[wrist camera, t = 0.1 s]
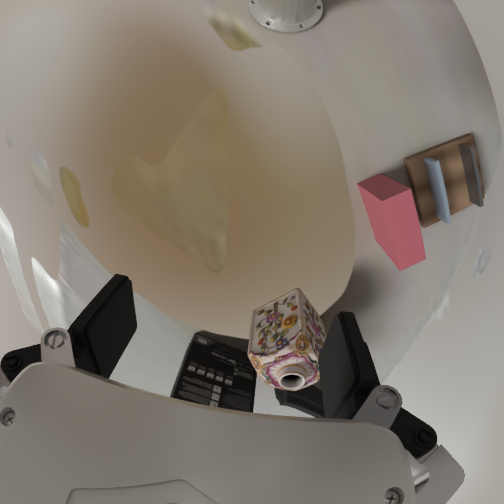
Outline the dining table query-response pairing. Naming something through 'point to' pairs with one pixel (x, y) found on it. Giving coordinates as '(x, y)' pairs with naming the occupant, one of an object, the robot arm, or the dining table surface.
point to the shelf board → (451, 176)
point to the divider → (438, 189)
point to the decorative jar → (286, 342)
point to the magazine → (303, 400)
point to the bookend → (471, 174)
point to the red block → (393, 219)
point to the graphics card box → (215, 376)
